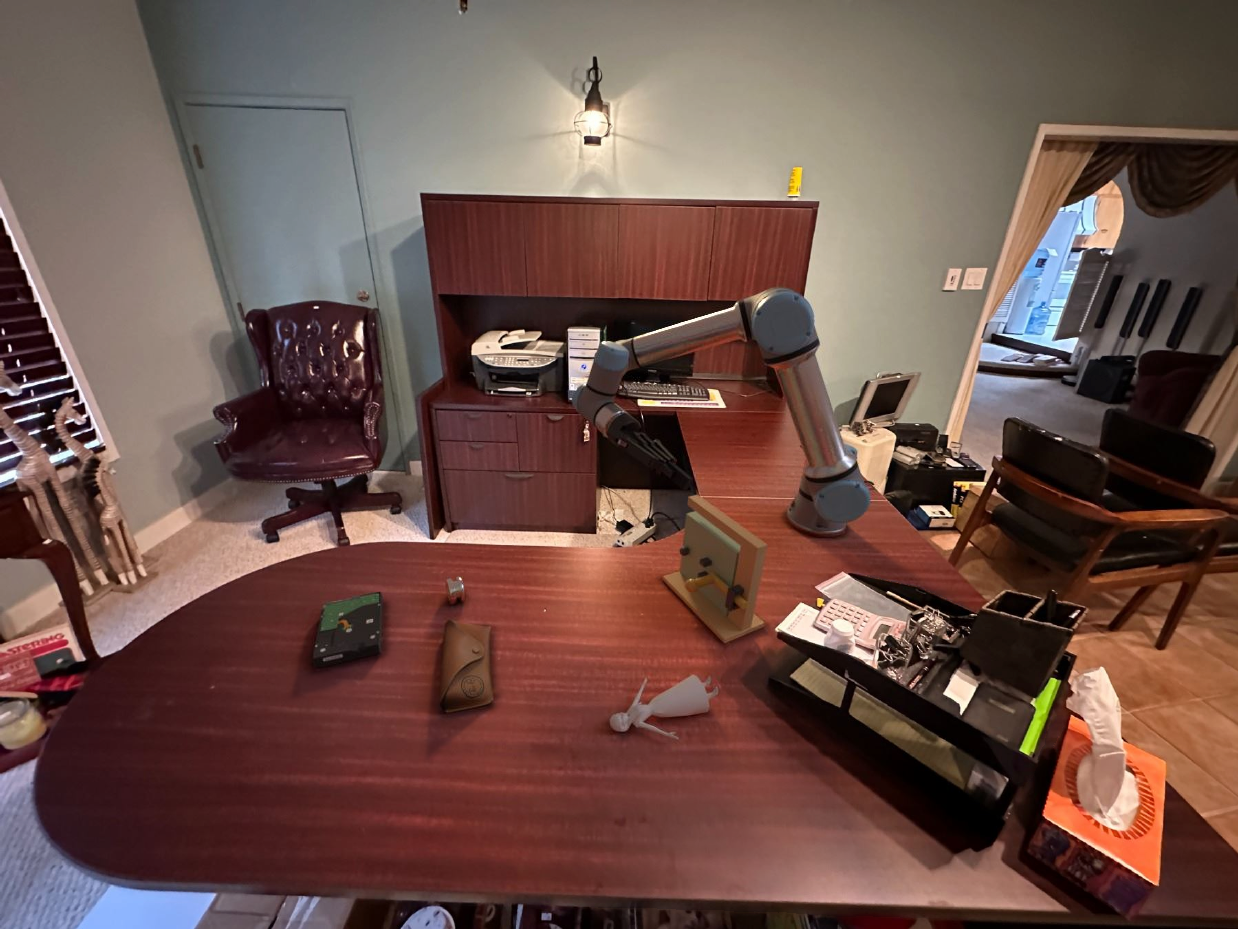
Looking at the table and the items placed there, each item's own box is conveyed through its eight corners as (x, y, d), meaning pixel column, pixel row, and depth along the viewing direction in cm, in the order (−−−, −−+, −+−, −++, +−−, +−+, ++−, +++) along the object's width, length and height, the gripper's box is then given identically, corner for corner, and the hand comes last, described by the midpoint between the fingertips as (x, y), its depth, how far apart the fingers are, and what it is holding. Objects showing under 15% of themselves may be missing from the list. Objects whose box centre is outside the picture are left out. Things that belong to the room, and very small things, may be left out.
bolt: (711, 578, 99) (713, 568, 98) (746, 610, 91) (749, 599, 90) (681, 588, 96) (683, 578, 95) (715, 622, 88) (717, 611, 87)
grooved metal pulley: (446, 594, 101) (444, 574, 99) (461, 590, 103) (459, 570, 101) (452, 609, 97) (449, 589, 95) (467, 604, 99) (465, 584, 97)
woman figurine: (734, 706, 74) (624, 749, 69) (732, 726, 76) (624, 769, 71) (696, 650, 84) (597, 684, 79) (695, 669, 86) (598, 703, 81)
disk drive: (383, 654, 87) (383, 600, 99) (380, 642, 85) (381, 589, 98) (315, 671, 83) (324, 613, 95) (311, 659, 82) (321, 601, 94)
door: (698, 568, 113) (709, 491, 105) (763, 626, 97) (782, 540, 89) (662, 579, 109) (670, 500, 101) (724, 643, 92) (739, 554, 84)
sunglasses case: (497, 701, 78) (471, 679, 75) (459, 725, 78) (432, 704, 75) (491, 623, 94) (470, 601, 91) (460, 643, 94) (437, 622, 90)
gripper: (631, 442, 120) (698, 498, 106) (591, 438, 111) (659, 500, 97) (644, 415, 117) (714, 469, 103) (605, 409, 108) (676, 468, 94)
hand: (687, 484), depth 100 cm, fingers closed
